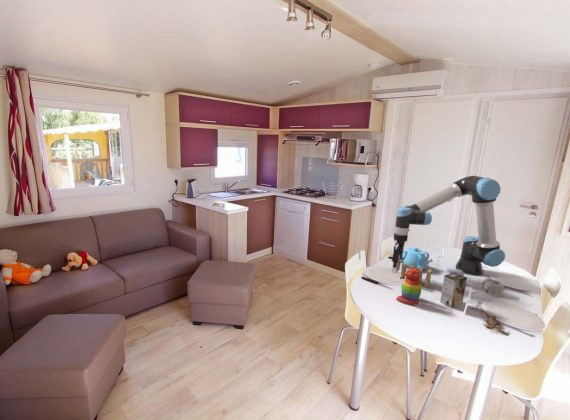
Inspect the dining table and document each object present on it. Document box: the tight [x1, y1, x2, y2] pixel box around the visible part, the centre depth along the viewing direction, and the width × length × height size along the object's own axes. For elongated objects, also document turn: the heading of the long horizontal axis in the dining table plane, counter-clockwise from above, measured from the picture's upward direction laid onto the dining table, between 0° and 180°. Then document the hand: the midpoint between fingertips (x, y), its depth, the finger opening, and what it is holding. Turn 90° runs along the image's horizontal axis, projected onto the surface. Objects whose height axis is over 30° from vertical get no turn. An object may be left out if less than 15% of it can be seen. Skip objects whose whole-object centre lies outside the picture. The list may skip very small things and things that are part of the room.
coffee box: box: [439, 273, 468, 309], centre depth 152 cm, size 9×6×16 cm
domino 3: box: [418, 266, 424, 283], centre depth 172 cm, size 2×5×10 cm, turn 143°
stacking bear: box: [395, 268, 422, 306], centre depth 154 cm, size 11×10×18 cm
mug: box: [481, 279, 506, 298], centre depth 169 cm, size 10×7×7 cm
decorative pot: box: [400, 246, 430, 270], centre depth 198 cm, size 16×16×14 cm
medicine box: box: [445, 268, 465, 276], centre depth 177 cm, size 8×4×9 cm, turn 84°
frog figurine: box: [483, 314, 511, 336], centre depth 136 cm, size 12×12×4 cm
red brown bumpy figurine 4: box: [400, 262, 408, 279], centre depth 177 cm, size 2×5×10 cm, turn 143°
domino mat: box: [421, 280, 437, 293], centre depth 176 cm, size 26×12×1 cm, turn 53°
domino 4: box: [424, 267, 433, 288], centre depth 170 cm, size 2×5×10 cm, turn 143°
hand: (395, 270), depth 180 cm, fingers closed on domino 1, 5 cm apart
